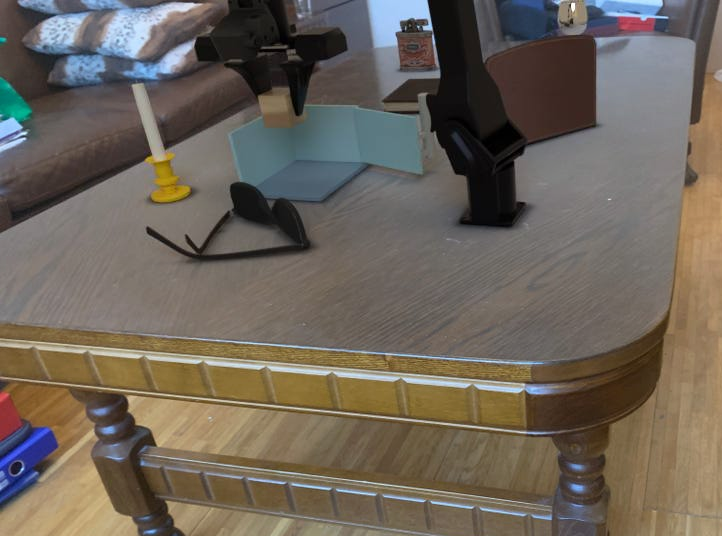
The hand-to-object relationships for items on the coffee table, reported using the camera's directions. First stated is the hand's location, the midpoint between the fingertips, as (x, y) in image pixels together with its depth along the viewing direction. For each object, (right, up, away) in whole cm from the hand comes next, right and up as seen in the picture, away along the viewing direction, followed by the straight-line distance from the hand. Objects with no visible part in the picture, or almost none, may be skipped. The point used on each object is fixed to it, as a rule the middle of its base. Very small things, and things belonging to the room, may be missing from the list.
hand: (284, 115), depth 99 cm
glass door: (+14, -4, +8) cm, 17 cm away
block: (0, -1, 0) cm, 1 cm away
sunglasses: (-4, -19, -10) cm, 22 cm away
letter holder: (+33, +3, +19) cm, 38 cm away
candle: (-17, -9, +7) cm, 21 cm away
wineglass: (+44, +27, +54) cm, 75 cm away
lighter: (+12, +30, +63) cm, 71 cm away
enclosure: (+1, -7, +8) cm, 10 cm away
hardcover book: (+21, +15, +39) cm, 47 cm away
